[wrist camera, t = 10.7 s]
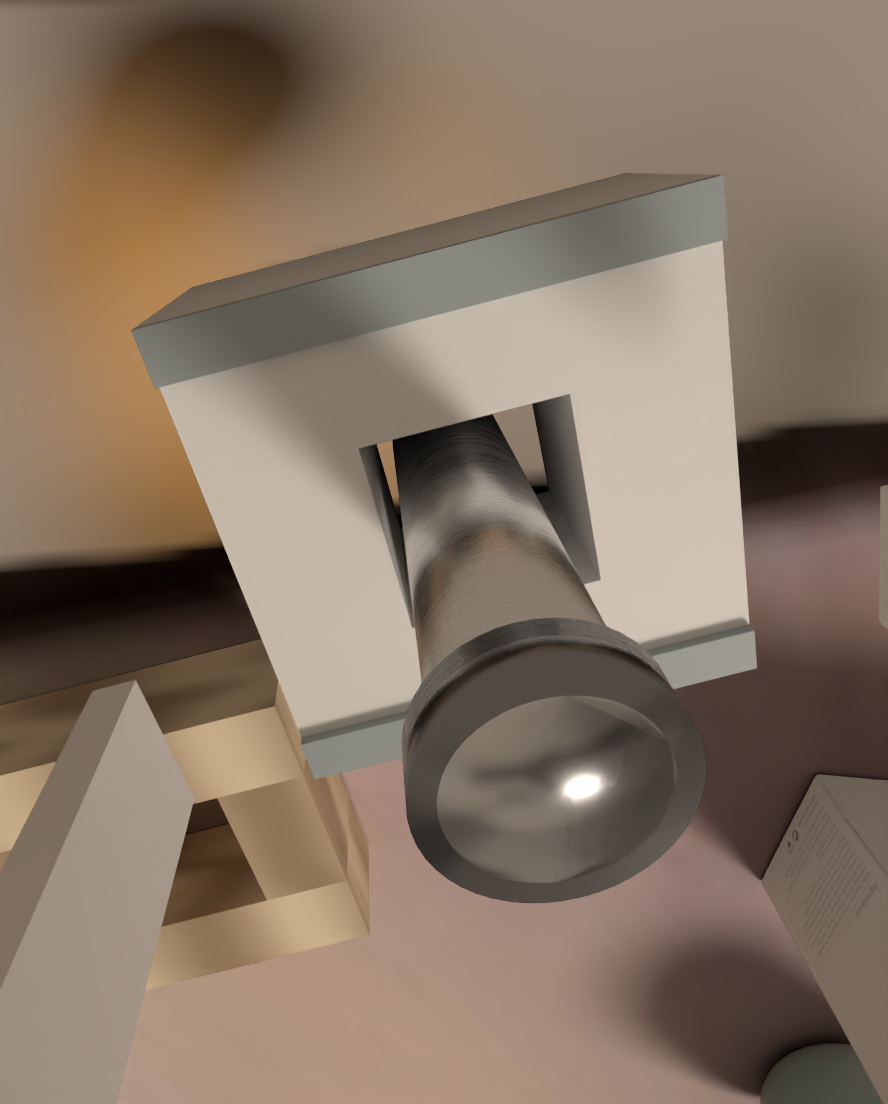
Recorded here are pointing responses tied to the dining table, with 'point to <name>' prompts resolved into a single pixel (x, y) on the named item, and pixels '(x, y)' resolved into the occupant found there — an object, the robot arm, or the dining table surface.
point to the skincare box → (841, 906)
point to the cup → (819, 1078)
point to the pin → (526, 692)
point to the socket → (459, 395)
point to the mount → (246, 798)
